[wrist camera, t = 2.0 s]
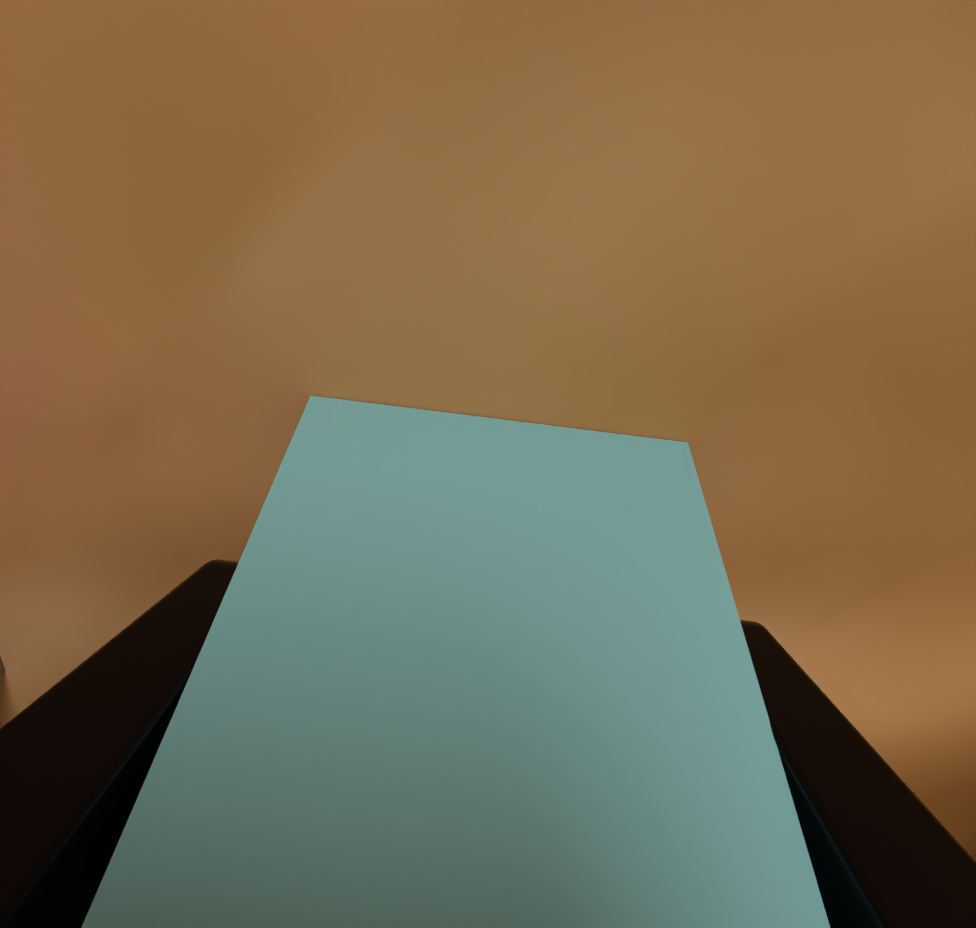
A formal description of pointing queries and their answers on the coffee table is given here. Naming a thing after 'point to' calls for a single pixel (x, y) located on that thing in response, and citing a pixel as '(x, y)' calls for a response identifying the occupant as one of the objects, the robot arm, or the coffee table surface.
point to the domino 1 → (1, 668)
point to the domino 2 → (469, 700)
